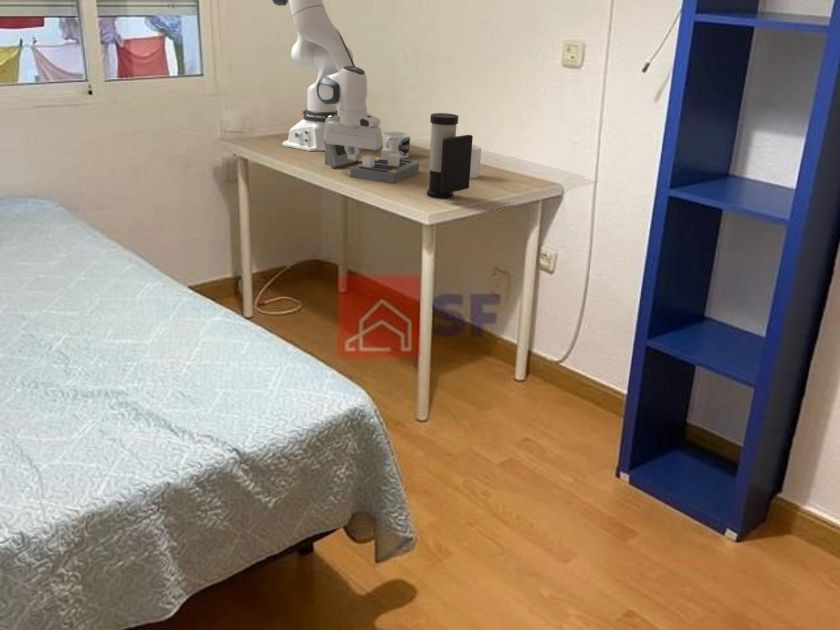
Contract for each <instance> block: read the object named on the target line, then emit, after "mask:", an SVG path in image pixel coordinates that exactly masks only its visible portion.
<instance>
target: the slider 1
mask: <svg viewBox="0 0 840 630" xmlns="http://www.w3.org/2000/svg"><path fill="white" fill-rule="evenodd" d="M375 158H376V156H374V155H369V154H365V155H363V156H362V158H361V159H362V163H361V164H362V167H368V168H372V167H374V162H375Z"/></svg>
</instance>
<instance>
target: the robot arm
mask: <svg viewBox="0 0 840 630" xmlns="http://www.w3.org/2000/svg"><path fill="white" fill-rule="evenodd" d="M271 1H272V3H273V4H274V5H277V6H282V7H283V6H287V5H289V9H290V13H291V16H292V20H293V23H294V26H295V29H296V32H297V39H296V42H295V43H294V44H293V46H292V48H291V53H290V55H291V61H292V63H293V64H294V66H296V67H297V68H300V69H302V70H305V71H309V72H315V73H316V72H317V78H316V81H315V82H314V83H312V84H310V85H309V87H308V88H307V90H306V91H307V92H306V93H307V95H306V100H307V102H306V103H307V104H306V105H307V106H306V108H307V109H305V110H303V111H301V114H300V115H301V116H303V118H302V119H301V120H300V121H298V122H297V123H296V124H295V125H294V126H292V127H291V128H290V129H289V132H288V139H287V140H284V141H283V142H282V146H283V147H288V148H289V147H290V148H292V149H293V148H294V149H297V150H298V149H299V150H304V151H309V152H315V151H316V152H317V151H319V152H320V151H326V149H325V145H324V141H323V139H324V140H325V142H326V143H327V144H334V145H342V146H345V151H346V153H347V155H348V158H347V159H348V160H354V161H356V160H357V158H358V154H359V153H360V152H361V150H363V149H366V150H370V151H371V150H372V151H377V150H381V147H383V133H382V129H381V127H380V125H381V119H380V118H378V116H374V115H373V114H370V113H368V112H367V111H368V108H367V98H368V81H367V74H366V71H365V70H364V69H362V68H360V67H358V66H356V65H355V63H354V55H353V52H352V50H351V48H350V47H348V46H347V45H346V43H345V41H344V39H343V37H342V35H341V33H340V32H339V30H338V29H337V28H336V27H335V26H334V24H333V22H332V21H331V18H329V15H328V14H327V13H328V12H327V10H326V8H325V5H324V1H323V0H271ZM338 105H339V112H338V109H337V106H338ZM338 113H339V116H338ZM351 147H354V150H355V153H354V154H352V153H351V151H350V149H351Z"/></svg>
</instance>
